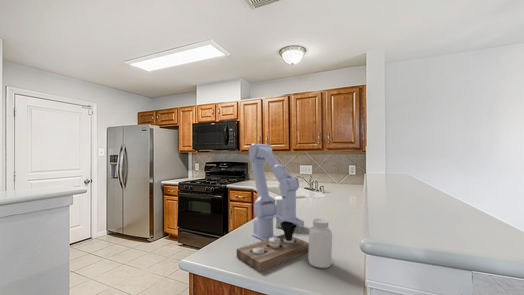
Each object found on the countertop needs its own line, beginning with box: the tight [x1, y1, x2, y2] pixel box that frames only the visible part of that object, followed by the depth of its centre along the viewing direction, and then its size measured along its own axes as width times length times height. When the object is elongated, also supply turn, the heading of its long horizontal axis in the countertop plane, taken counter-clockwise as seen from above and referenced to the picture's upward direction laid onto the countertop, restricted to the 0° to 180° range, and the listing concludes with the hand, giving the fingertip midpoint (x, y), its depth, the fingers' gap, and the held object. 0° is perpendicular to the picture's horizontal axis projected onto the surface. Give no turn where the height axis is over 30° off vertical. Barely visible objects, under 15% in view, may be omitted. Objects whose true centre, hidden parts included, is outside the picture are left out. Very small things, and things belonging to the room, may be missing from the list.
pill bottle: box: [307, 218, 333, 269], centre depth 81 cm, size 8×8×15 cm
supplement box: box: [274, 195, 283, 229], centre depth 124 cm, size 9×9×15 cm
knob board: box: [236, 233, 309, 273], centre depth 89 cm, size 14×26×3 cm, turn 129°
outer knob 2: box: [283, 238, 294, 244], centre depth 94 cm, size 4×4×3 cm
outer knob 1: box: [253, 248, 264, 256], centre depth 84 cm, size 4×4×3 cm
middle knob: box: [269, 237, 280, 250], centre depth 89 cm, size 4×4×3 cm
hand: (288, 240), depth 94 cm, fingers closed, pressing on outer knob 2
